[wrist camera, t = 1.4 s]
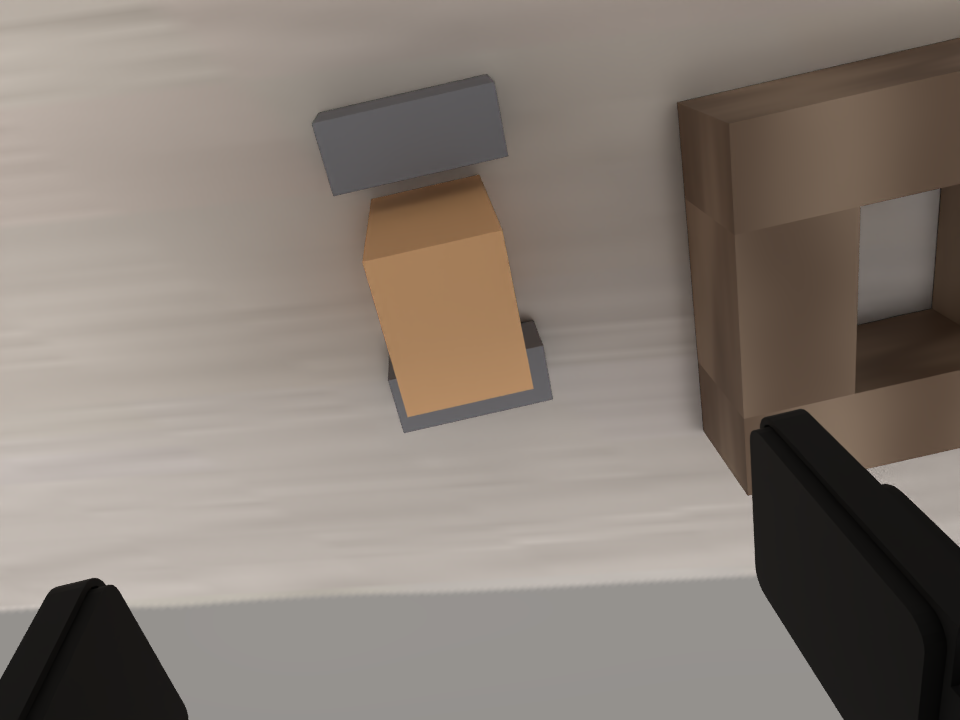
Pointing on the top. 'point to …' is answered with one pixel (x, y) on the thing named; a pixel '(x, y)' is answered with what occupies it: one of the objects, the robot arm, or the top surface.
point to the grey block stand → (417, 152)
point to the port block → (823, 254)
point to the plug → (445, 296)
